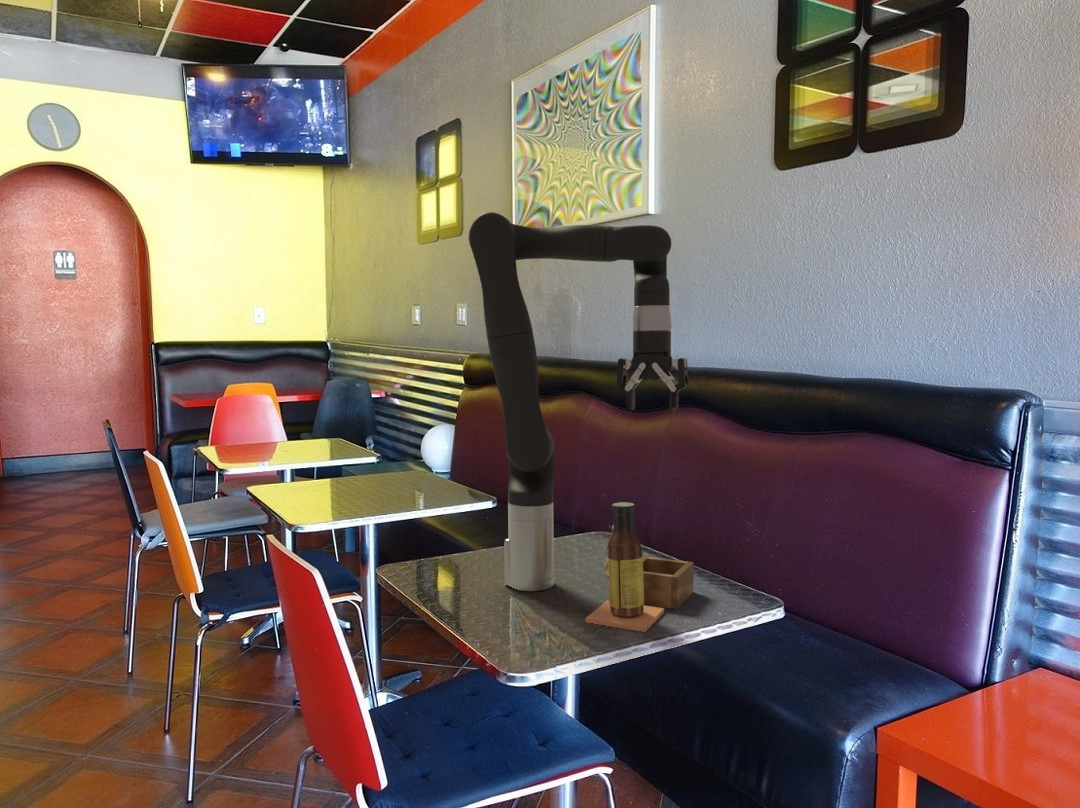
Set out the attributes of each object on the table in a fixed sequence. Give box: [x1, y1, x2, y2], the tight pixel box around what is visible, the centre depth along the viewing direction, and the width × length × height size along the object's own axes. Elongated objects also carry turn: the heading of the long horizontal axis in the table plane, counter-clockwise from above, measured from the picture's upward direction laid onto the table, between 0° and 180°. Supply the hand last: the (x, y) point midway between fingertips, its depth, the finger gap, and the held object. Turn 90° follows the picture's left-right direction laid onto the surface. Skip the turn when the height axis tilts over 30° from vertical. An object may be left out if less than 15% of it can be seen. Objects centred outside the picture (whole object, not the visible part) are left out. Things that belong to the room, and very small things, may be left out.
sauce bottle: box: [607, 501, 645, 617], centre depth 140 cm, size 7×6×20 cm
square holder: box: [643, 555, 695, 610], centre depth 152 cm, size 10×11×6 cm
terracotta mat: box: [584, 599, 665, 633], centre depth 141 cm, size 11×11×1 cm
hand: (652, 410), depth 157 cm, fingers open, 8 cm apart
